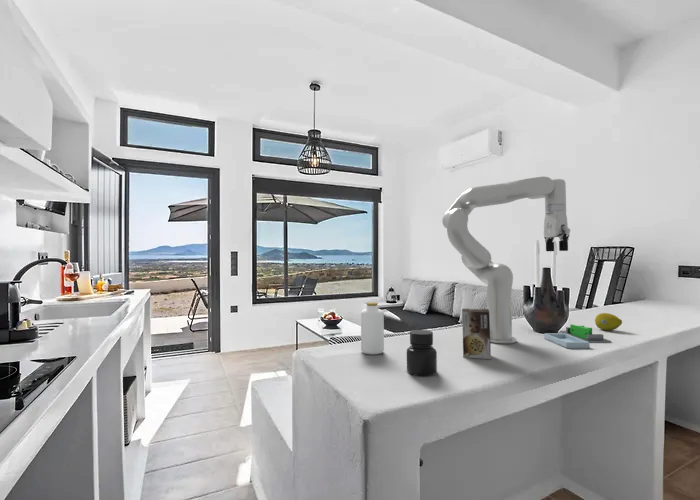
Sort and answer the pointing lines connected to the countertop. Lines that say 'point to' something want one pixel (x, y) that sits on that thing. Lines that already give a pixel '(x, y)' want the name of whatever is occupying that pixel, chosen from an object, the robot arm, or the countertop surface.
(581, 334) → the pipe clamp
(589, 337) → the rack rail
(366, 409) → the countertop surface
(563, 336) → the parts tray
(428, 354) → the ink bottle
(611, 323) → the lemon
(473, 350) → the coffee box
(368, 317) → the white bottle
